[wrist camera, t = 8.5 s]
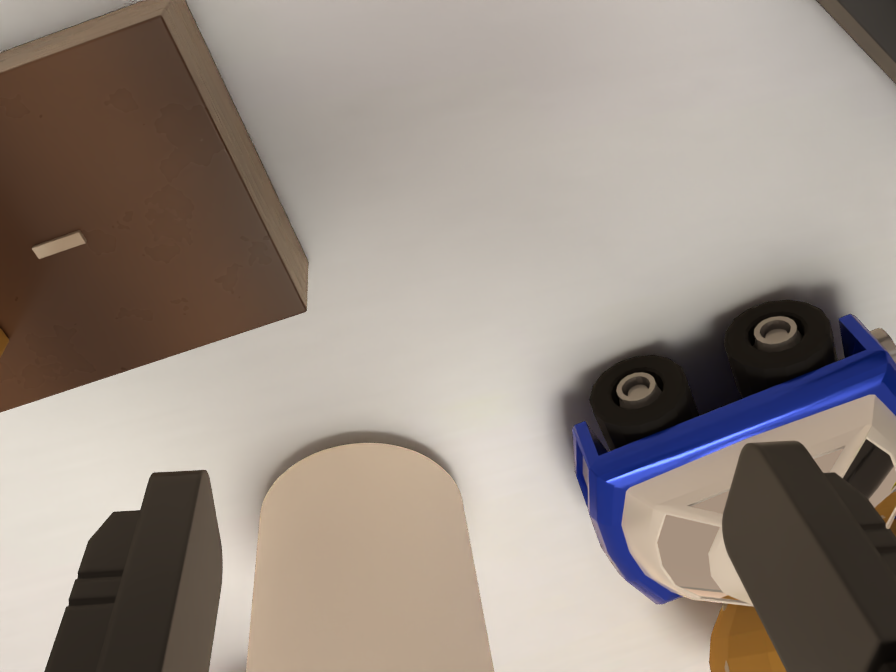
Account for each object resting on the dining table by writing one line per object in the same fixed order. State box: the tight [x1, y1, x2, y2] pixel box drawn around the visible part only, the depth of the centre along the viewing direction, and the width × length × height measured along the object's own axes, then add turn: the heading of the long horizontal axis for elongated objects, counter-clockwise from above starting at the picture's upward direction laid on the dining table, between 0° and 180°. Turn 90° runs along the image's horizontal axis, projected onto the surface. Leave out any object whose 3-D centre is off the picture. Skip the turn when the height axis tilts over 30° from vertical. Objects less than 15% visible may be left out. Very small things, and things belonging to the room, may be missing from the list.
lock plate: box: [0, 0, 308, 412], centre depth 24 cm, size 13×9×3 cm
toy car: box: [572, 300, 896, 607], centre depth 29 cm, size 9×12×10 cm
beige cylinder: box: [246, 443, 494, 672], centre depth 29 cm, size 8×8×12 cm
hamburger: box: [709, 519, 896, 672], centre depth 34 cm, size 14×14×10 cm
